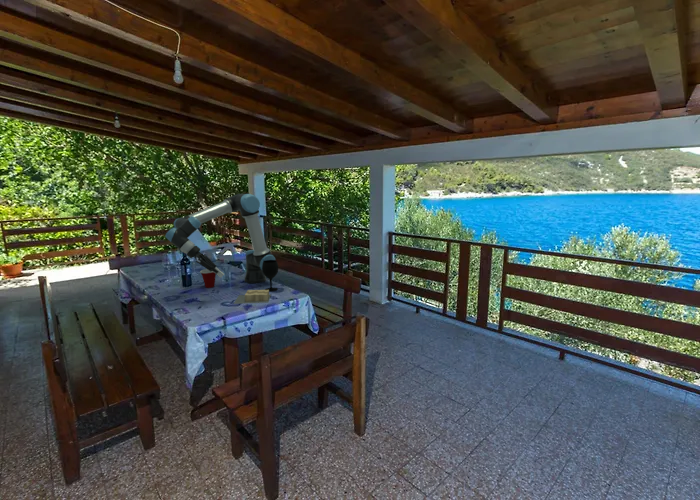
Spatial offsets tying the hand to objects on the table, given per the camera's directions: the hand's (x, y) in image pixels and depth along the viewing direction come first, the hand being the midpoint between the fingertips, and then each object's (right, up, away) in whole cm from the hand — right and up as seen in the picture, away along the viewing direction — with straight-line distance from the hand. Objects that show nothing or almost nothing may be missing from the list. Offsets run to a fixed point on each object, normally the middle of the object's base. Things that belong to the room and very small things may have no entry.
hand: (222, 276), depth 207 cm
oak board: (+13, -12, +4) cm, 18 cm away
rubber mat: (+17, -15, +5) cm, 23 cm away
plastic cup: (-21, -10, +31) cm, 39 cm away
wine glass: (+24, -12, +24) cm, 35 cm away
